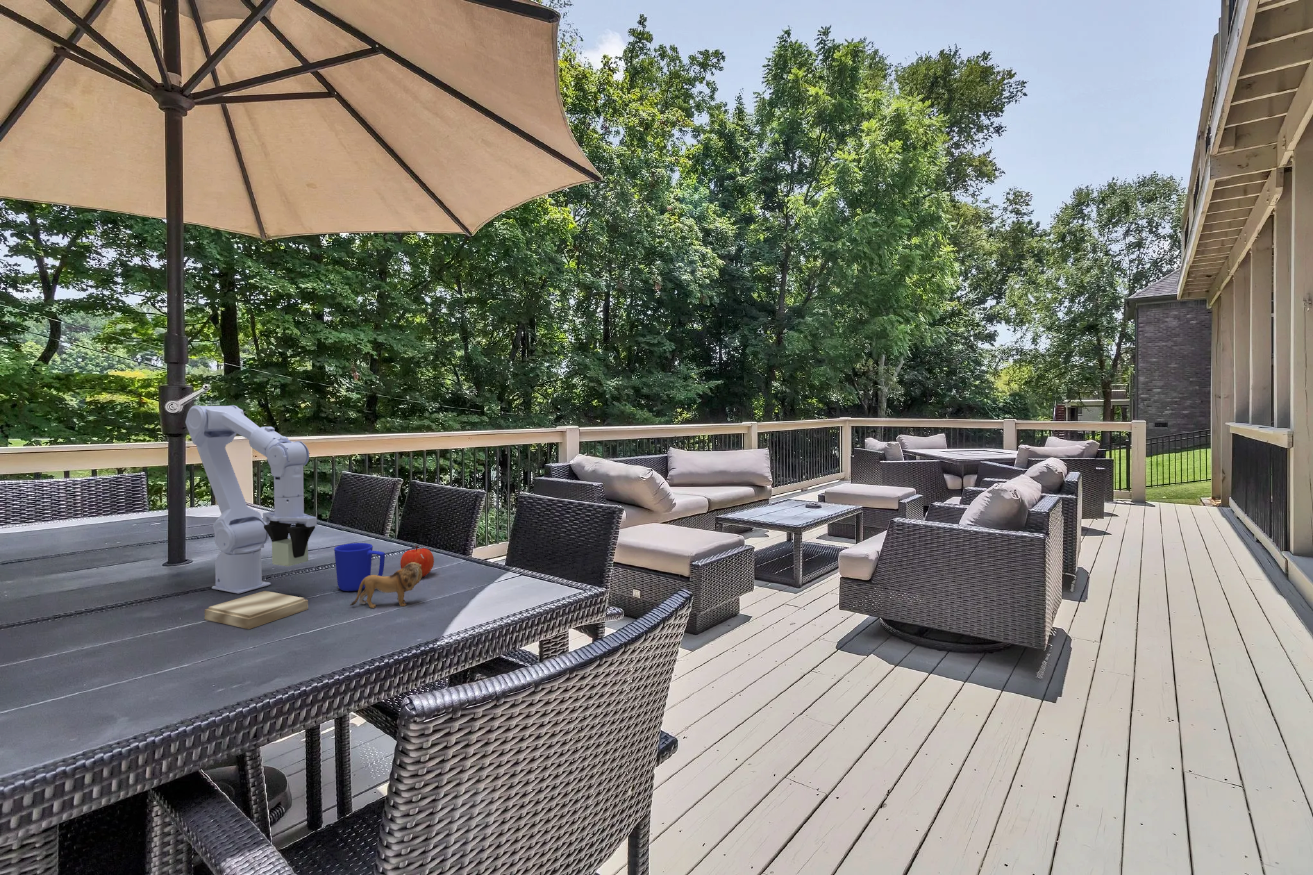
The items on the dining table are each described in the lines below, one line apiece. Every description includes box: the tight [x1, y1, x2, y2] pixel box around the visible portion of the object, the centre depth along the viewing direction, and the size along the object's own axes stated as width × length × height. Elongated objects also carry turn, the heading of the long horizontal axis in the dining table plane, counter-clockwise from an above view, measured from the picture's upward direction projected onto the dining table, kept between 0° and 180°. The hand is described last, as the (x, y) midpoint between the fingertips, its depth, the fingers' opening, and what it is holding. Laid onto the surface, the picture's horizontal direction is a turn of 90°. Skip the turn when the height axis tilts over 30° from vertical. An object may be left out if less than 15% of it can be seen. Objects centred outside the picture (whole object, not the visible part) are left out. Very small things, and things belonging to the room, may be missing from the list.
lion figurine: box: [349, 562, 423, 609], centre depth 139 cm, size 15×5×9 cm, turn 112°
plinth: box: [204, 590, 309, 630], centre depth 131 cm, size 13×13×2 cm
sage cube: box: [271, 537, 309, 567], centre depth 143 cm, size 5×5×5 cm
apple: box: [399, 545, 435, 578], centre depth 161 cm, size 8×8×8 cm
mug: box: [333, 542, 386, 592], centre depth 149 cm, size 8×12×10 cm
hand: (290, 555), depth 143 cm, fingers closed on sage cube, 5 cm apart
